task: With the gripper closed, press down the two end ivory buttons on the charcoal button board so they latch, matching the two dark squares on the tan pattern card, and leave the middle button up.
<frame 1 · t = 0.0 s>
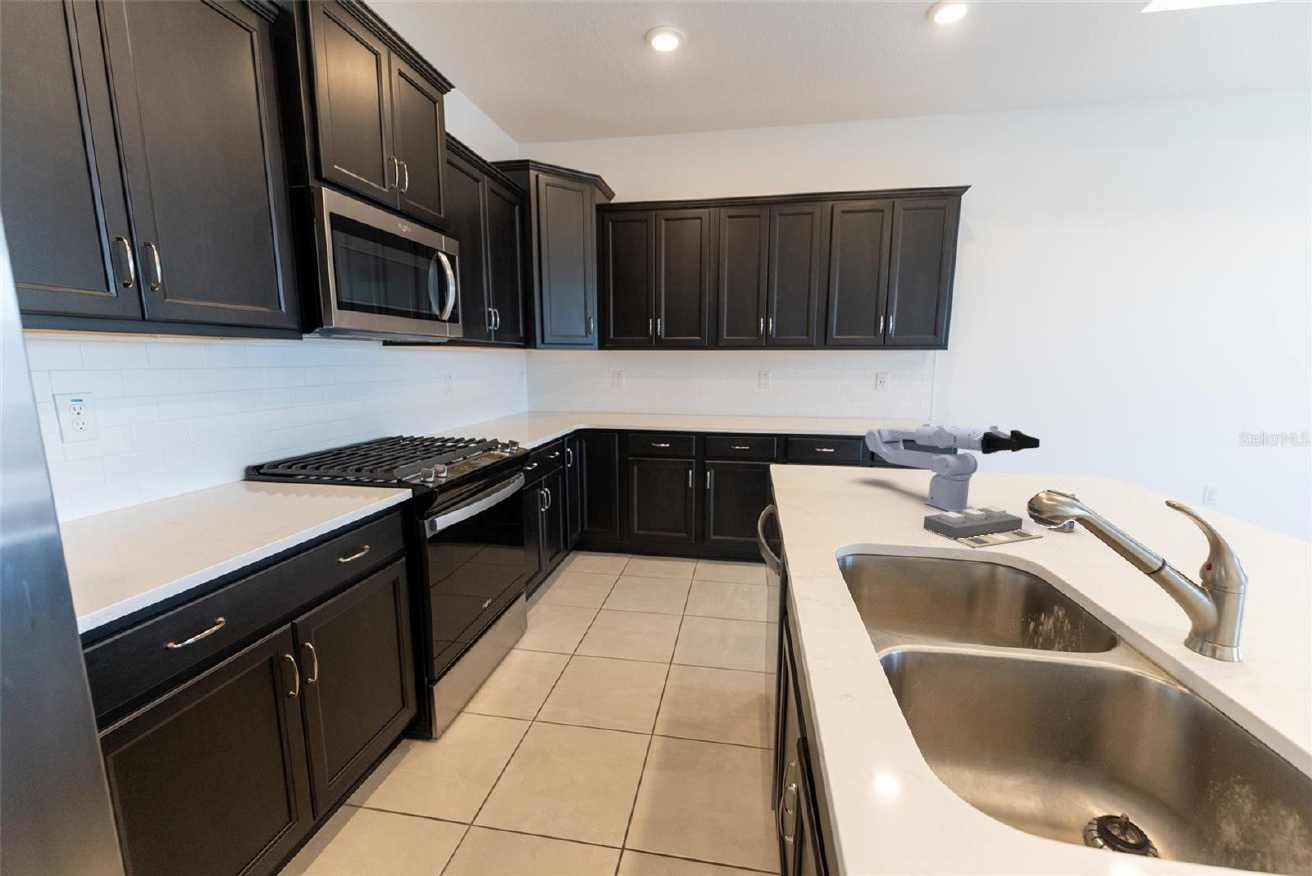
hand: (1027, 444, 127), 22 cm above the worktop, tool horizontal, fingers open, 7 cm apart
pill bottle: (1059, 529, 132), on the worktop
button board: (972, 528, 131), on the worktop
button end far: (994, 514, 133), point 3 cm above the worktop, slide at 0.0 cm
button end near: (952, 520, 128), point 3 cm above the worktop, slide at 0.0 cm
button middle: (973, 517, 131), point 3 cm above the worktop, slide at 0.0 cm
pattern card: (1000, 539, 124), on the worktop
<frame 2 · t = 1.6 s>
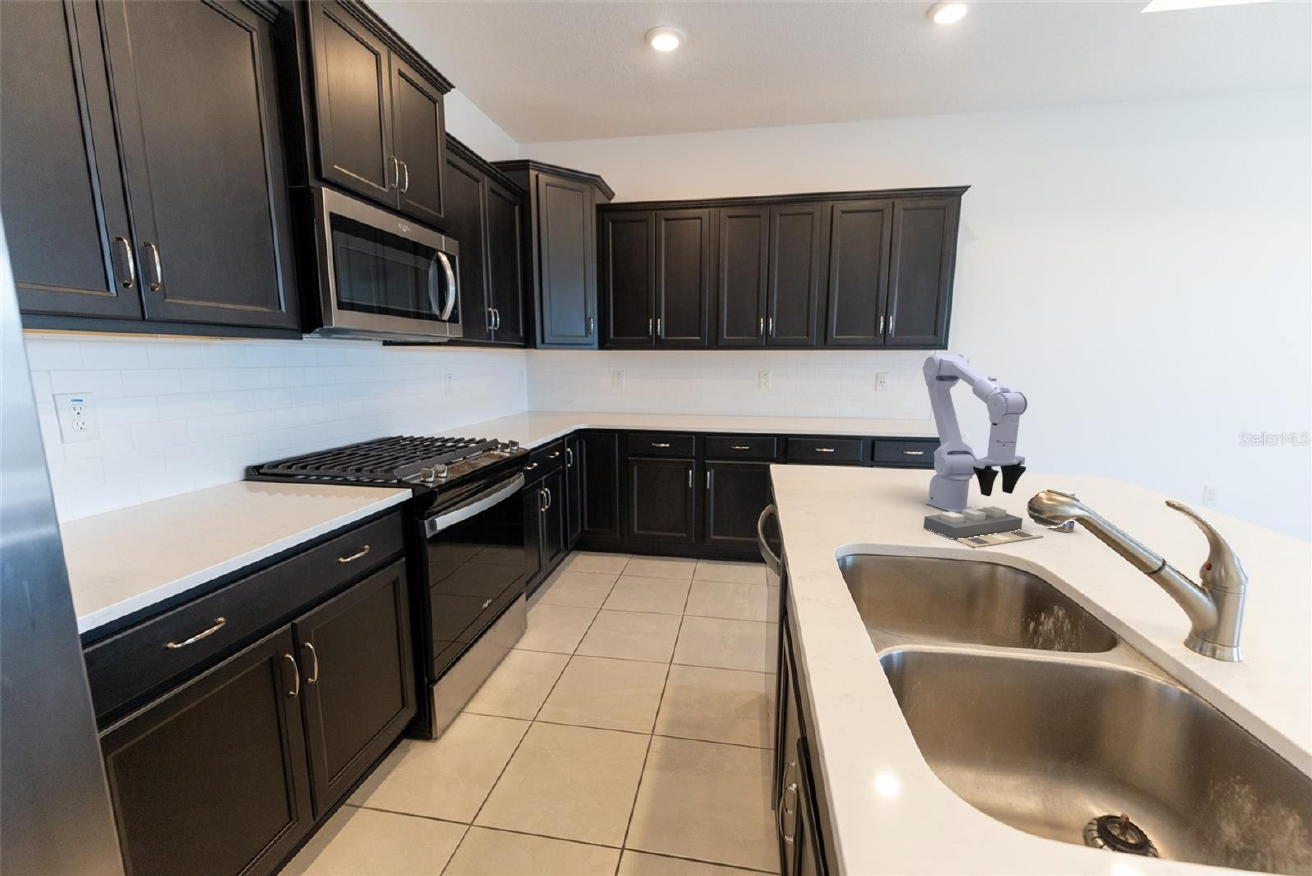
hand: (996, 494, 132), 8 cm above the worktop, tool pointing down, fingers open, 7 cm apart
nothing on the worktop moved.
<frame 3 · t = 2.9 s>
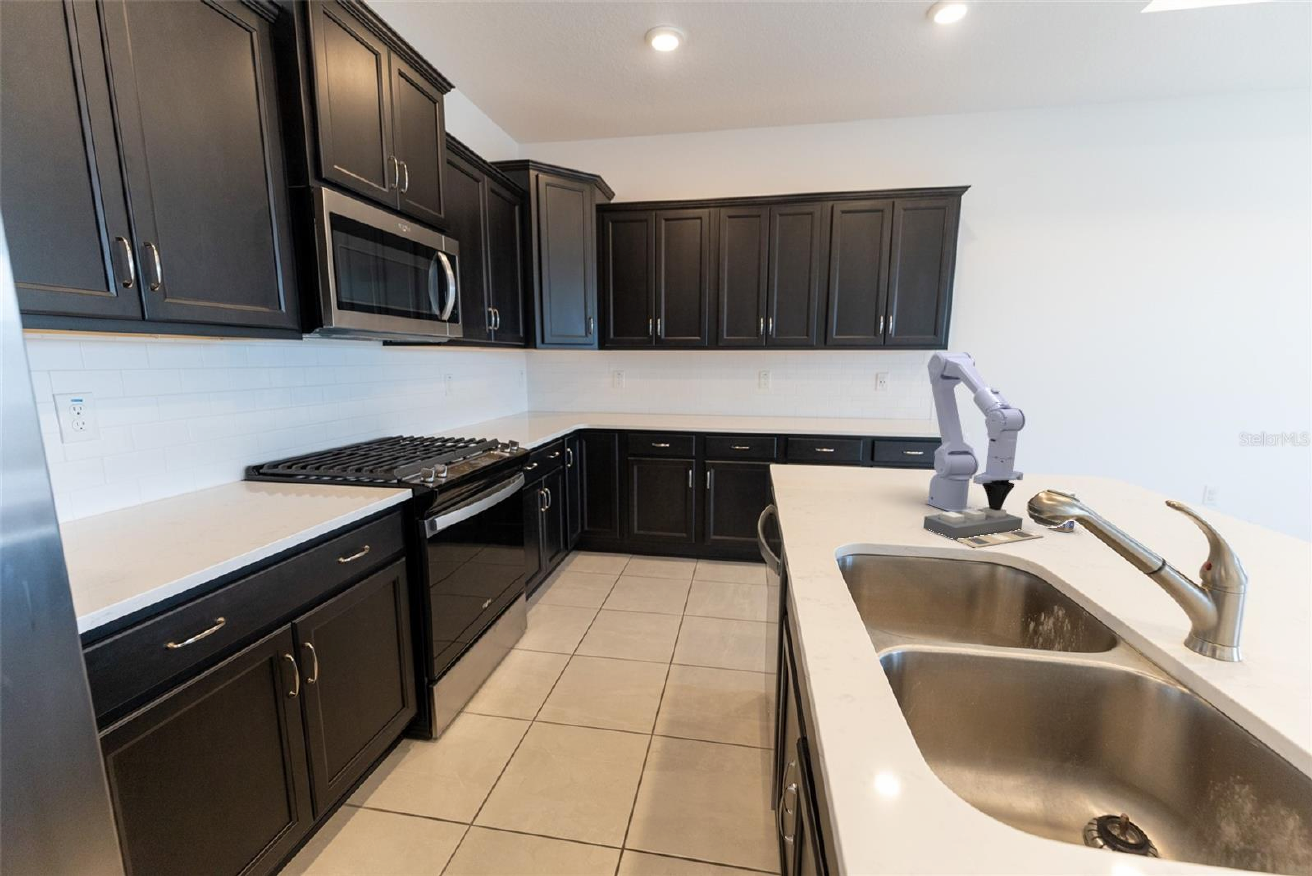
hand: (994, 509, 133), 4 cm above the worktop, tool pointing down, fingers closed, pressing on button end far
button end far: (994, 514, 133), point 3 cm above the worktop, slide at 0.0 cm, touching gripper
everything else where it was.
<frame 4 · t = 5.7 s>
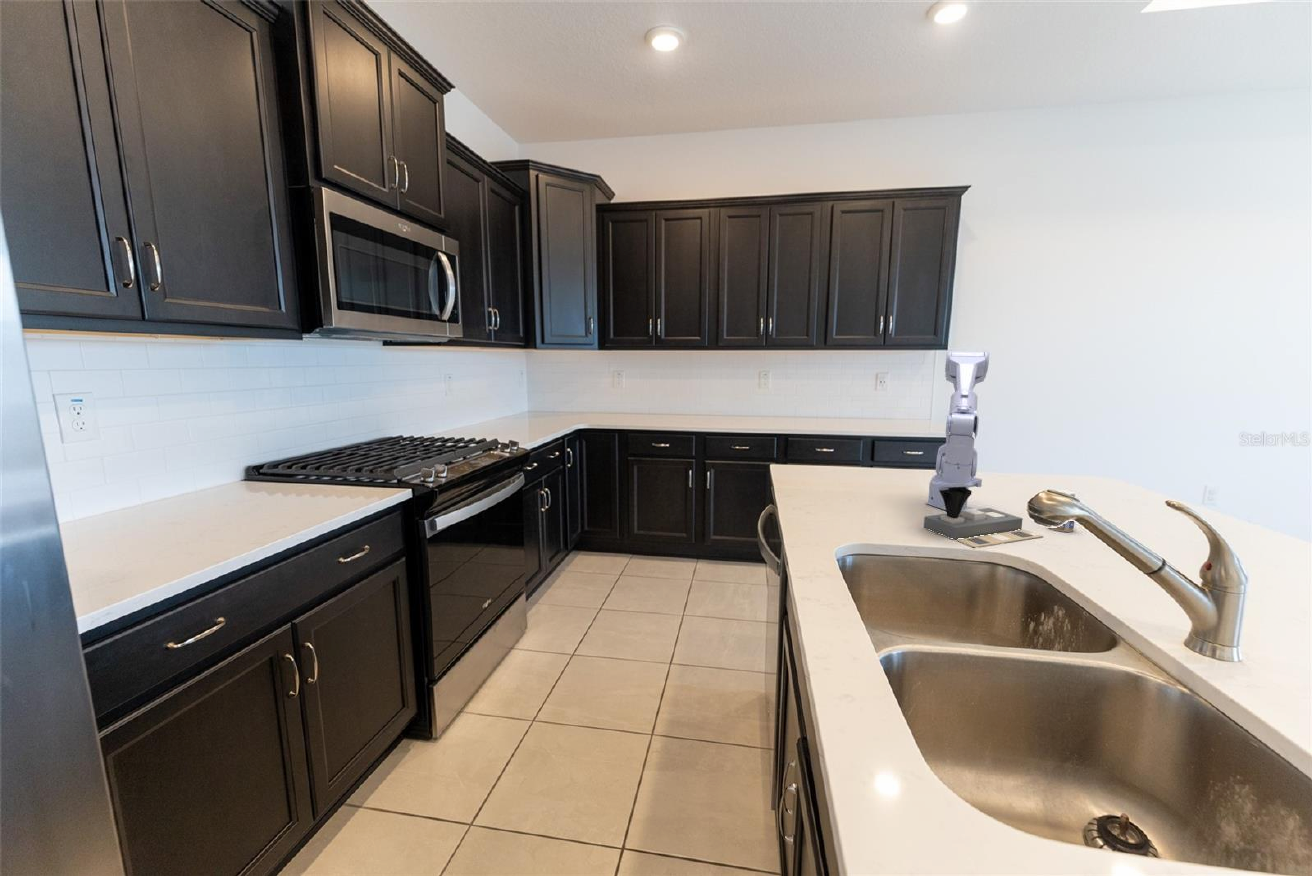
hand: (952, 517, 128), 4 cm above the worktop, tool pointing down, fingers closed, pressing on button end near
button end far: (993, 520, 133), point 2 cm above the worktop, slide at 1.5 cm
button end near: (951, 522, 129), point 2 cm above the worktop, slide at 0.6 cm, touching gripper
everything else where it was.
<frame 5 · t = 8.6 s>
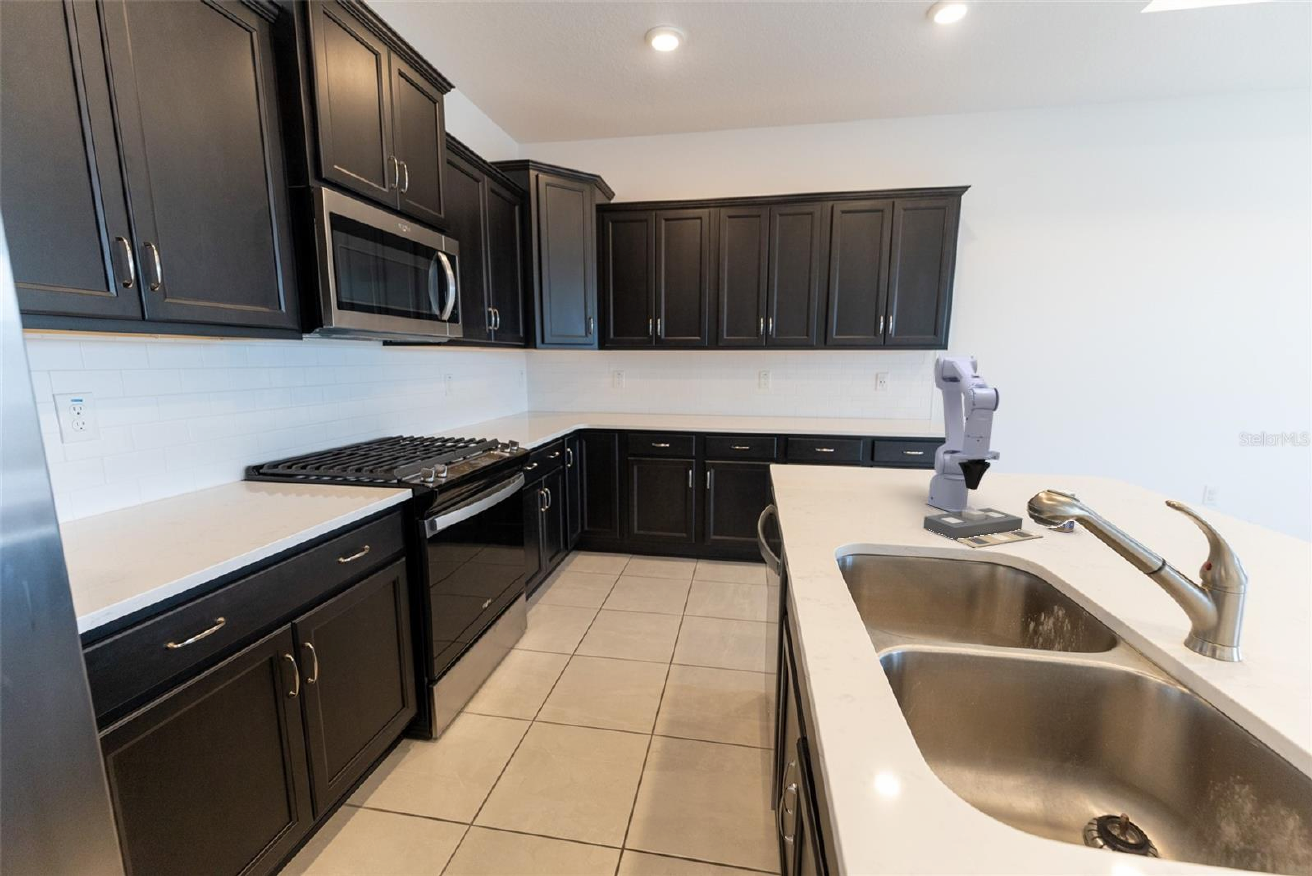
hand: (971, 488, 133), 9 cm above the worktop, tool pointing down, fingers closed
button end near: (951, 525, 129), point 2 cm above the worktop, slide at 1.5 cm
everything else where it was.
at the end: button end far slide at 1.5 cm; button end near slide at 1.5 cm; button middle slide at 0.0 cm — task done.
